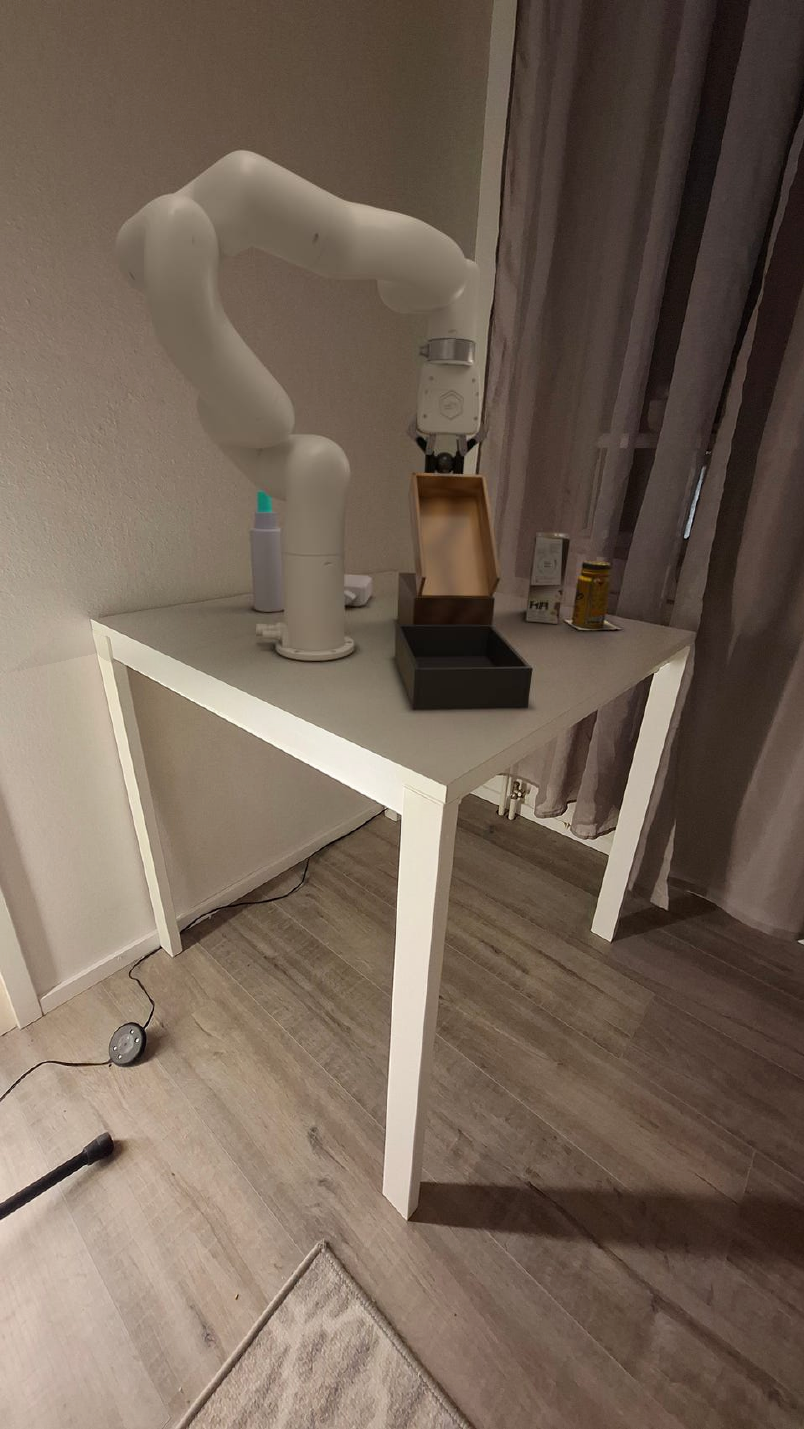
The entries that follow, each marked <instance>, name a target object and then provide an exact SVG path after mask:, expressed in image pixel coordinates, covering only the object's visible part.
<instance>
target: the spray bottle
mask: <svg viewBox="0 0 804 1429" xmlns="http://www.w3.org/2000/svg"><path fill="white" fill-rule="evenodd" d="M256 499H257V510H255V511H254V526H252V527H250V528H249V531H248V532H249V544H250V561H251V576H252V579H251V580H252V592H253V593H252V594H253V595H252V596H253V606H254V607H253V608H254V610H256V611H258V612H261V613H277V612H281V611H284V602H283V579H282V556H281V527H279V526H278V525H277V515H276V511H274V510H273V506H272V504H273V503H272V497H270V496H268V495H267V494H265V493H264V492H262V491H261V490H256Z"/></svg>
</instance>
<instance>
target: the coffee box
mask: <svg viewBox="0 0 804 1429" xmlns="http://www.w3.org/2000/svg"><path fill="white" fill-rule="evenodd" d="M534 535H535V536H534V541H533V551H532V558H531V566H530V576H529V584H528V592H527V600H526V601H527V602H526V603H527V604H526V613H525V614H526V615H525V621H526V622H531V623H541V624H543V623H544V624H552V625H557V624H558V623H559V617H560V610H561V605H562V598H563V591H564V583H565V577H566V571H567V564H568V558H569V552H570V544H571V538H570V535H569V533H567V532H549V531H547V532H542V531H538V532H537V531H536V532H535V534H534Z"/></svg>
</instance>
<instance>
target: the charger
mask: <svg viewBox="0 0 804 1429" xmlns="http://www.w3.org/2000/svg"><path fill="white" fill-rule="evenodd" d="M372 593H373V579H372V577H370V576H369V575H365V574H349V573H348V574H347V573H345V607H358V608H359V607H363V606H365V605H366V604H367V602H368V600H369V599H370V597H371V596H372Z"/></svg>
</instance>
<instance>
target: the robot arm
mask: <svg viewBox="0 0 804 1429" xmlns="http://www.w3.org/2000/svg"><path fill="white" fill-rule="evenodd" d="M114 248H115V250H114V251H115V252H114V254H115V260H116V263H117V266H118V269H119V272H120V273H121V275H122V277H123V279H124V281H125V282H126V283H127V285H128V286H129V287H130V288H131V289H132V290H133V291H134V292H135V293H137V294H138V295H140V296H141V297H143V298H146V301H147V307H148V312H149V316H150V320H151V324H152V327H153V330H154V333H155V335H156V338H157V340H158V342H159V345H160V346H161V348H162V349H163V351H164V353H165V355H166V357H167V358H168V359H169V361H170V362H171V363H172V365H173V366H174V367H175V368H176V370H177V371H178V372H179V373H180V374H181V376H182V377H183V378H184V380H186V381H187V382H188V384H189V385H190V386H191V387H192V388H193V389H194V391H195V392H196V393H197V400H196V412H197V417H198V419H199V424H200V426H201V427H202V430H203V431H204V433H205V434H206V436H207V437H208V439H210V441H211V442H212V444H214V445H215V446H216V447H217V448H218V449H219V451H220V452H221V453H222V454H223V455H224V456H225V457H226V458H227V459H228V460H229V461H230V462H231V463H232V464H233V465H234V466H235V467H236V468H237V469H238V470H239V471H240V472H241V473H242V474H243V475H244V476H245V477H246V478H247V479H248V480H249V481H250V482H251V483H252V484H253V485H254V486H256V488H257V489H259V491H262V492H264V493H265V494H267V495H268V496H270V497H271V499H275V500H278V501H282V502H285V504H284V509H283V513H282V518H281V524H280V528H281V556H282V579H283V602H284V609H283V617H282V621H276V624H268V623H256V625H255V632H256V637H262V639H263V640H268V639H269V640H270V639H271V640H272V639H277V640H276V641H275V651H276V652H277V653H278V654H279V655H280V656H282V657H286V658H288V659H293V660H297V661H298V660H299V661H309V662H310V661H311V662H313V661H314V662H315V661H316V662H317V661H318V662H319V661H330V660H336V659H341V658H345V657H346V656H348V655H350V654H352V653H353V652H354V651H355V641H354V640H353V638H351V637H349V636H348V635H346V634H345V633H346V626H345V625H346V622H345V621H346V616H345V615H346V613H345V612H346V609H345V608H346V606H345V574H346V573H345V526H346V512H347V506H348V500H349V494H350V488H351V481H352V479H351V478H352V477H351V475H352V474H351V472H352V471H351V465H350V462H349V459H348V457H347V455H346V452H344V450H343V449H342V447H341V446H340V445H339V444H337V443H336V442H335V441H334V440H332V439H330V438H328V437H326V436H323V435H318V434H308V433H295V434H292V432H293V429H294V426H295V420H296V417H295V415H296V414H295V409H294V405H293V404H292V401H291V399H290V397H289V395H288V393H286V391H285V390H284V388H283V386H282V385H281V384H280V383H279V382H278V380H277V379H276V378H275V377H274V376H273V375H272V373H271V372H270V371H269V369H267V367H266V366H265V365H264V364H263V362H262V361H261V360H260V359H259V358H258V356H256V354H255V353H254V352H253V350H251V348H250V347H249V345H247V343H246V342H245V341H244V340H243V338H242V337H241V336H240V334H239V333H238V331H237V330H236V329H235V327H234V326H233V324H232V322H231V321H230V319H229V317H228V316H227V314H226V312H225V309H224V306H223V303H222V299H221V295H220V289H219V267H221V266H222V265H223V264H226V262H228V261H229V260H230V259H232V258H233V257H235V256H236V255H238V254H239V253H242V252H244V251H246V250H249V249H250V248H255V249H258V250H261V251H263V252H265V253H268V254H270V255H272V256H274V257H277V258H279V259H280V260H281V259H282V260H284V261H285V262H289V263H290V264H293V265H295V266H297V267H300V268H301V269H303V270H307V271H309V272H311V273H313V274H315V275H317V276H320V277H322V278H326V279H331V280H332V279H333V280H342V281H355V280H377V281H376V283H377V291H378V294H379V297H380V299H381V300H382V302H383V304H385V306H386V307H387V308H389V309H390V310H391V311H393V312H396V313H399V314H402V315H405V314H406V315H416V314H419V315H420V314H421V315H422V314H423V315H426V316H428V324H427V342H426V344H423V345H422V346H421V345H418V346H417V356H418V357H422V358H424V360H425V362H426V363H424V364H422V366H421V369H420V370H421V371H420V376H419V382H418V388H417V395H416V406H415V414H414V416H413V417H412V419H411V420H410V423H409V424H408V426H407V427H406V429H405V430H404V435H405V436H406V437H407V438H409V440H411V441H413V443H415V444H416V445H417V446H418V447H419V449H420V451H422V452H423V454H424V456H425V457H424V473H436V471H435V464H436V456H437V455H435V450H434V449H435V444H436V438H437V436H440V435H441V436H455V444H456V447H455V448H456V451H455V455H454V456H453V458H454V461H455V466H454V469H453V470H452V472H451V474H464V473H465V472H464V471H465V470H464V469H465V458H466V456H467V455H468V453H469V452H470V451H472V449H473V448H474V447H475V446H476V445H478V444H479V443H481V442H483V441H484V440H486V439H487V438H488V433H487V431H486V429H485V427H484V424H483V422H482V420H481V414H482V413H481V411H482V410H481V407H482V404H481V402H482V396H481V395H482V392H481V391H482V390H481V385H482V384H481V373H480V366H477V365H475V359H476V343H477V332H478V331H477V330H478V329H477V328H478V316H479V315H478V313H479V304H480V302H479V300H480V290H481V288H480V287H481V269H480V267H479V265H478V264H477V262H476V261H475V260H471V259H469V258H466V257H465V255H464V253H463V250H462V249H461V248H460V246H459V244H457V243H456V241H455V240H453V239H452V238H451V237H450V236H448V235H447V234H446V233H444V232H442V231H441V230H438V229H437V228H436V227H434V226H432V225H430V224H429V223H426V222H425V221H423V220H421V219H419V218H416V217H414V216H410V215H407V214H404V213H401V212H397V211H393V210H387V209H384V208H378V207H375V206H371V205H369V204H368V205H367V204H363V203H360V202H359V203H358V202H352V201H349V200H345V199H343V198H340V197H338V196H336V195H335V194H333V193H330V192H329V191H327V190H325V189H323V188H321V187H319V186H318V185H316V184H314V183H312V182H311V181H309V180H307V179H306V178H303V177H301V176H300V175H298V174H296V173H294V172H292V171H291V170H289V169H288V168H287V169H286V168H285V167H284V166H281V165H280V164H278V163H276V162H274V161H273V160H270V159H269V158H267V157H265V156H263V155H261V154H258V153H256V152H254V151H250V150H246V149H245V150H242V149H241V150H235V151H232V152H230V153H227V154H226V155H224V156H222V158H220V159H219V160H217V161H216V162H215V163H214V164H212V165H211V166H210V167H208V168H206V170H204V171H203V172H202V173H200V174H199V175H198V176H197V177H195V178H194V179H193V180H191V181H190V182H188V183H187V184H185V185H184V186H183V187H181V188H180V189H179V190H177V191H175V192H174V193H167V194H162V195H160V196H158V197H156V198H154V199H153V200H151V201H149V202H148V203H147V204H145V205H144V206H143V207H142V208H140V210H139V211H138V212H136V213H135V214H134V215H133V216H131V217H130V218H129V219H127V220H126V221H125V222H124V223H123V224H122V226H121V227H120V229H119V230H118V233H117V236H116V239H115V246H114ZM417 432H418V433H417ZM419 433H420V434H424V435H425V438H424V437H423V436H422V435H420V434H419ZM473 435H474V436H473ZM467 436H472V437H471V438H468V439H467Z"/></svg>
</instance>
